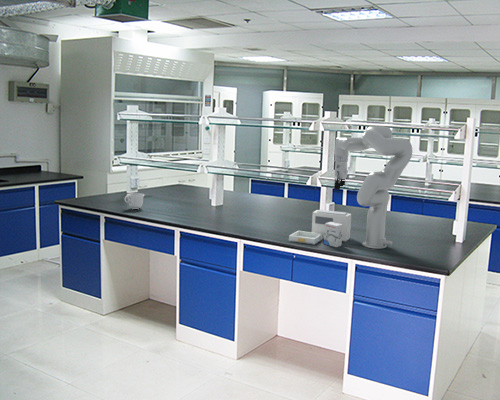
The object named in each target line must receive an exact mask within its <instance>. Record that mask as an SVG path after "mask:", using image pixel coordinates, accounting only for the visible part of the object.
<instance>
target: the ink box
mask: <svg viewBox="0 0 500 400" xmlns="http://www.w3.org/2000/svg"><path fill="white" fill-rule="evenodd" d="M342 230H343V225H342V224H339V223H334V222H328V223H325V233H324V238H323V245H325V246H330V247H333V248H338V247H339V248H340V247H342V242H343V241H342Z"/></svg>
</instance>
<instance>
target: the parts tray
mask: <svg viewBox="0 0 500 400" xmlns="http://www.w3.org/2000/svg"><path fill="white" fill-rule="evenodd" d="M322 240H324V238H323V234H320V233H313V232H312V231H303V230H297V231H295V232H293V233H290V234H288V241H289V242H295V243H301V244H308V245H316V244H318V243H319V242H321V241H322Z"/></svg>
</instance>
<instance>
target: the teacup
mask: <svg viewBox="0 0 500 400" xmlns="http://www.w3.org/2000/svg"><path fill="white" fill-rule="evenodd" d="M144 197H145V194H144V193H140V192H132V193H127V194H126V196H124V202H125V203H127V204H128V205H129V207H130V208H131V210H133V209H138V210H140V209H141V207H143V205H144V204H143V203H144ZM139 208H140V209H139Z"/></svg>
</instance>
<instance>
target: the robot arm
mask: <svg viewBox="0 0 500 400" xmlns="http://www.w3.org/2000/svg"><path fill="white" fill-rule="evenodd" d="M361 135H362V136H361V137H352V136H351V137H346V136H337V137H336V138H335V142H334V144H335V145H334V162H335V164H334V165H335V167H334V186H333V187H334V191H335V190H337V191H338V190H341V187H340V186H343V185H345V186H346V179H347V177H348V162H349V152H361V151H365V150H369V149H371V148H372V149H374V150H375V151H376V153H378V154H380V155H382V156H387V157H388V156H393V157H392V158H390V159H389V161H387V163H386V165H385V167H384V168H383V170H380V171H372V172H370V173H369V174H367V176H366V177H365V179H364V180H363V182H362V184H361V186H360V188H359V189H358V192H357V194H356V201H357V203H358V205H360V206H362V207H369V208H368V210H367V216H366V230H365V232H366V233H365V241H362V243H361V244H362V246H363V247H364V248H368V249H375V250H376V249H377V250H378V249H379V250H381V249H385V248H386V249H387V245H389V246H392V245H393V241H391V240H387V238H386V237H385V233H386V220H387V219H386V218H387V210H388V204H389V201H390V193H389V190H391V189H392V188H394V186H395V185H396V183H397V181H398V180H399V178H400V177H401V175H402V173H403V171H404V170H405V168H406V166H408V164H409V163H410V161H411V159H412V156H413V145H412V143H411V141H410V140H408V139H406V138H403V137H393V131H392V129H391V128H390V127H388V126H383V125H382V126H381V125H380V126H379V125H377V126H376V125H372V126H369V127H367V129H365V131H364V132H363V133H362V134H361ZM340 180H341V181H340ZM342 180H345V181H342Z"/></svg>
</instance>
